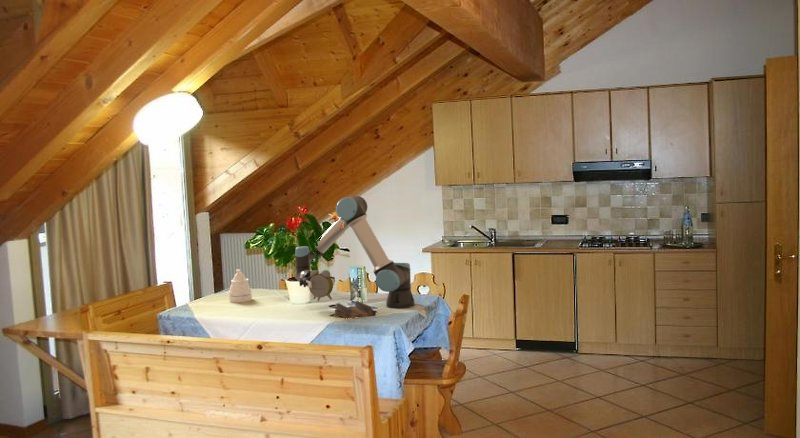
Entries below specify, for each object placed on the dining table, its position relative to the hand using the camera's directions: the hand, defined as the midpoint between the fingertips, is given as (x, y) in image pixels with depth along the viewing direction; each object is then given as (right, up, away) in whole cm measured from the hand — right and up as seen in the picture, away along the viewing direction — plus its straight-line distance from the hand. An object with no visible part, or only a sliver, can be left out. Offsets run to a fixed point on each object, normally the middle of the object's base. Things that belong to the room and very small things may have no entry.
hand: (322, 283), depth 342 cm
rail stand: (+15, -16, +8) cm, 24 cm away
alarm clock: (-1, -9, +2) cm, 9 cm away
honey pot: (-54, -15, +56) cm, 79 cm away
